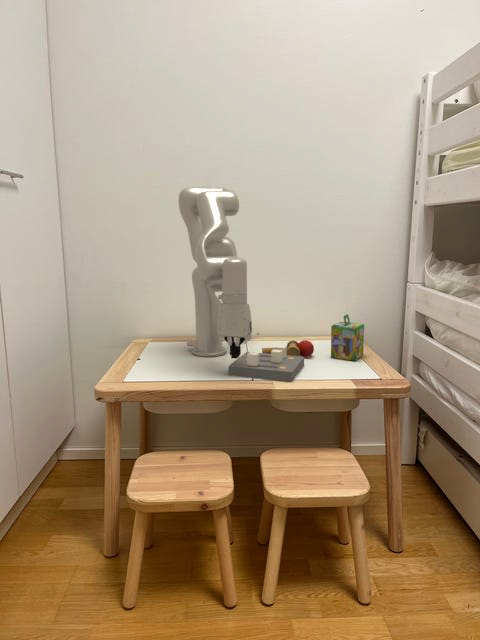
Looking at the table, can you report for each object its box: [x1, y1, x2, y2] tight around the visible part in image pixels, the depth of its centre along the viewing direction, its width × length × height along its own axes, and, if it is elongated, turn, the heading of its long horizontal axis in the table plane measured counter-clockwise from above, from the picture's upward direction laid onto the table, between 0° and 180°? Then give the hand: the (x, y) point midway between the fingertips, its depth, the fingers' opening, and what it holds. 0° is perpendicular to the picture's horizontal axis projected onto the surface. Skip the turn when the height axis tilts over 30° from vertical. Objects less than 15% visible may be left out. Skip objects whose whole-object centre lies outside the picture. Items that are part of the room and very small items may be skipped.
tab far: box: [275, 345, 287, 359], centre depth 157 cm, size 3×3×4 cm
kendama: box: [261, 339, 315, 358], centre depth 169 cm, size 8×6×18 cm
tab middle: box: [271, 350, 282, 363], centre depth 152 cm, size 3×3×4 cm
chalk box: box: [330, 314, 365, 362], centre depth 167 cm, size 9×9×15 cm
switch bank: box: [227, 351, 305, 383], centre depth 153 cm, size 20×18×3 cm
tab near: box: [247, 351, 260, 366], centre depth 149 cm, size 3×3×4 cm
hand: (235, 357), depth 150 cm, fingers closed
